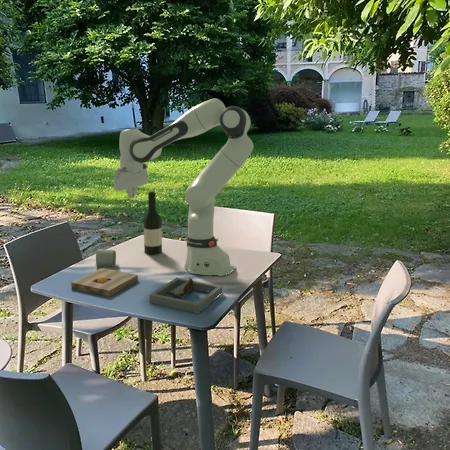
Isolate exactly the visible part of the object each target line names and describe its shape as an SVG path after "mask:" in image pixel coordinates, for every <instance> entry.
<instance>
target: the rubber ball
mask: <svg viewBox="0 0 450 450" xmlns="http://www.w3.org/2000/svg"><path fill="white" fill-rule="evenodd" d="M97 282H98V283H101V284H104V283H106V282H108V279H107V277H105V276H100V277H99V278H98V280H97Z"/></svg>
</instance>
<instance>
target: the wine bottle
mask: <svg viewBox="0 0 450 450" xmlns="http://www.w3.org/2000/svg"><path fill="white" fill-rule="evenodd" d="M156 197H157V196H156V192H155V190H149V191H148V193H147V199H148V200H147V202H148V203H147V204H148V211H147V213H146V214H145V216H144V218H143V234H144V235H143V241H144V243H143V244H144V246H143V247H144V249H143V250H144V254H146V255H147V256H148V255H149V256H156V255H160V254H162V253H163V248H162V247H163V245H162V244H163V238H162V236H163V235H162V218H161V215H159V213H158V211H157V205H156V204H157V202H156Z"/></svg>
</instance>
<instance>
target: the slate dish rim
mask: <svg viewBox="0 0 450 450" xmlns="http://www.w3.org/2000/svg"><path fill="white" fill-rule="evenodd" d="M188 280H189V279H186V278H179V277H175V278H173V279H171V281H169V282H167V283H165V284H164V285H162V286H161V287H159V288H158V289H156V290H155V291H153V292H152V293H150V294H149V295H148V296H149V303H150V304H155V305H158V306H164V307H168V308H173V309H177V310H181V311H186V312H190V313H194V312H198V313H199V312H200V311H201V312H203V311H204V310H205V309H206V308H207V307H208V306H210V305H211V304H212V303H213V302H214V301H215V300H216V299H215V298H216V297H217V296H218V295H219V294H221V293H222V294H223V286H222V285H218V284H211V283H206V282H201V281H197V280H193V281H194V284H193V289H194V290H193V291H197V290H202V291H209V292H210V293H207V294H206V295H205V296H204V297H203V298H201V299H200V300H199V301H198V302H194V301H188V300H184V299H181V298H175V297H171V296H167V295H168V294H170V293H169V292H170V291H171V290H172V289H174V288H176V287H178V286H180V285H182V284H184V283H185V282H187V281H188ZM202 291H201V292H202ZM222 294H221V295H222ZM214 299H215V300H214ZM213 300H214V301H213ZM212 301H213V302H212ZM211 302H212V303H211ZM210 303H211V304H210ZM209 304H210V305H209ZM207 305H208V306H207ZM206 306H207V307H206ZM205 307H206V308H205ZM204 308H205V309H204ZM203 309H204V310H203ZM202 310H203V311H202ZM201 312H200V313H201ZM198 313H197V314H198ZM200 313H199V314H200Z"/></svg>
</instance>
